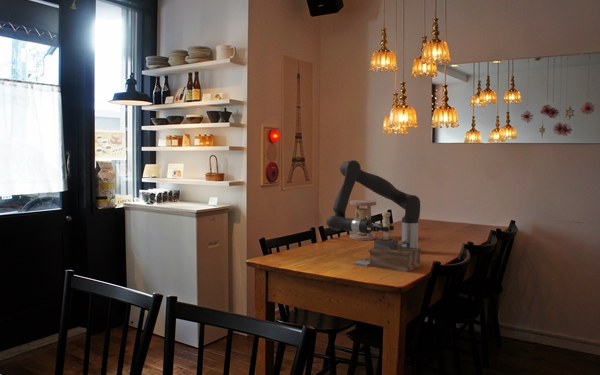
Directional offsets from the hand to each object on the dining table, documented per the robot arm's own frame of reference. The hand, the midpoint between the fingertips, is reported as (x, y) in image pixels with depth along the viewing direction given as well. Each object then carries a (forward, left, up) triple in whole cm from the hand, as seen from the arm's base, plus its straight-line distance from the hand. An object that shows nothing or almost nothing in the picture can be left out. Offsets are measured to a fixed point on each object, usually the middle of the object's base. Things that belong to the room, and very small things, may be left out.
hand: (391, 228), depth 263 cm
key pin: (0, -3, -10) cm, 10 cm away
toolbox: (0, +2, -19) cm, 19 cm away
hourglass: (-65, -53, -19) cm, 86 cm away
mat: (+4, -13, -19) cm, 23 cm away
